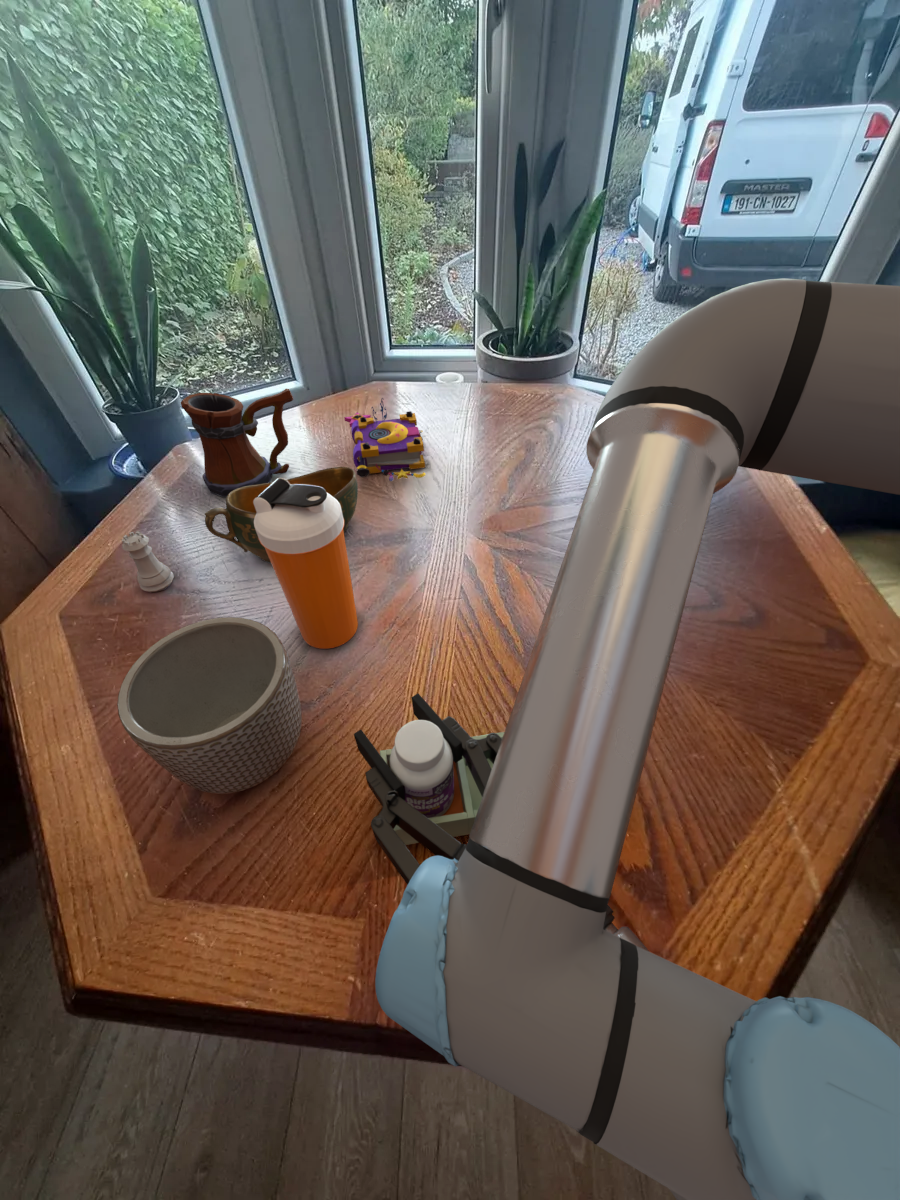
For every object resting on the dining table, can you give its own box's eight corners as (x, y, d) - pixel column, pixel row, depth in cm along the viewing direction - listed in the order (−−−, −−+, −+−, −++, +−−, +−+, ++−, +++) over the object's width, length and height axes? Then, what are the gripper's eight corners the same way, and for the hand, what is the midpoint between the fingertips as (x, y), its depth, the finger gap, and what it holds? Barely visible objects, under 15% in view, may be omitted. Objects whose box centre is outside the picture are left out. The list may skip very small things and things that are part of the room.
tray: (529, 745, 53) (531, 727, 50) (550, 820, 47) (555, 804, 45) (383, 768, 52) (379, 750, 49) (389, 847, 46) (384, 832, 44)
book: (350, 494, 87) (337, 425, 79) (346, 426, 105) (335, 364, 96) (436, 484, 89) (432, 415, 80) (417, 419, 106) (413, 357, 98)
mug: (307, 453, 98) (287, 372, 87) (314, 484, 90) (293, 399, 79) (207, 470, 94) (174, 387, 84) (205, 504, 86) (168, 418, 76)
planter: (325, 794, 50) (291, 719, 41) (172, 838, 47) (100, 769, 38) (310, 682, 59) (281, 601, 50) (183, 713, 57) (127, 635, 48)
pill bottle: (411, 834, 46) (400, 783, 39) (388, 784, 49) (374, 729, 43) (465, 805, 48) (463, 752, 41) (439, 758, 51) (433, 702, 44)
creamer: (236, 523, 82) (213, 466, 75) (363, 508, 84) (352, 451, 77) (224, 577, 73) (197, 518, 66) (367, 559, 75) (355, 499, 68)
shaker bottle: (351, 660, 62) (316, 522, 48) (282, 650, 63) (227, 513, 49) (374, 607, 68) (349, 471, 54) (310, 599, 69) (269, 465, 55)
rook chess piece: (182, 577, 73) (158, 531, 68) (157, 597, 70) (130, 551, 65) (159, 569, 75) (133, 523, 69) (134, 588, 72) (105, 542, 66)
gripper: (471, 1083, 33) (305, 800, 46) (655, 886, 40) (467, 693, 54) (471, 1074, 27) (284, 758, 41) (682, 849, 35) (466, 645, 49)
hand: (388, 721), depth 47 cm, fingers closed on pill bottle, 5 cm apart
